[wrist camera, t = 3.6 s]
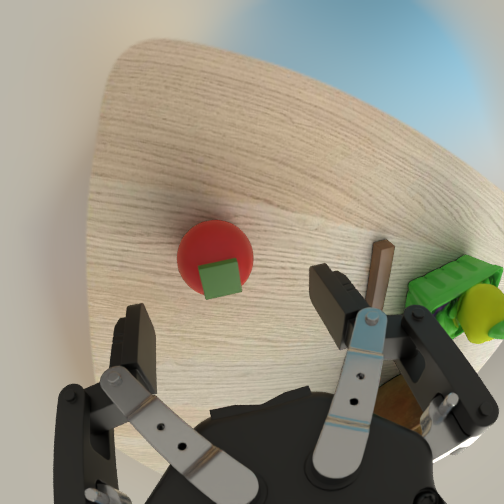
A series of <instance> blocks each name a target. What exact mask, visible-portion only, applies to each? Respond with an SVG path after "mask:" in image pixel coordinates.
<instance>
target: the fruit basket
mask: <svg viewBox="0 0 504 504" xmlns="http://www.w3.org/2000/svg"><path fill="white" fill-rule="evenodd" d="M502 273H503V267H501V266H498V265H492V264H489V263H487V262H484V261H482V260H479V259H476V258H474V257H471V256H469V255H464V256H462V257H460V258H458V259H457V260H456V261H452V262H450V263H448V264H446V265H444V266H443V267H441V268H440V269H436V270H434V271H432V272H429V273H427V274H426V275H425V276H424V277H419V278H417V279H415V280H413V281H410V282H409V284H408V288H409V291H408V293H407V298H406V304H405V308H406V307H408V306H410V305H421V306H424V307H426V308H427V309H428V310H429V311H430V312H431V313H432V315H433V316H434V317H435V318H436V320H437V321H438V322H439V323H440V325H441V326H442V327H443V328H444V330H445V331H446V332H447V334H448V335H449V336H450V338H451V339H454V338H455V337H457V336H458V335H460V334H461V333H463V332H465V334H466V336H467V338H468V340H469V341H470V342H471V343H475V344H481V343H484V342H486V341H490V340H492V339H504V294H503V293H502V291H501V290H500V289H498V285H499V282H500V279H501V276H502Z"/></svg>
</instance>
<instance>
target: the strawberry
mask: <svg viewBox="0 0 504 504" xmlns="http://www.w3.org/2000/svg"><path fill="white" fill-rule="evenodd" d="M177 264H178V269H179V272H180V274H181V276H182V278H183V280H184V281H185V282H186V284H187V285H188V286H189V287H190V288H192V289H193V290H195V291H196V292H198V293H200V294H203V295H205V299H206V300H208V299H212V298H217V297H221V296H226V295H230V294H235V293H239V292H242V287H241V286H242V285H243V284H244V283H245V282H246V280H247V279H248V277H249V275H250V273H251V270H252V267H253V250H252V247H251V244H250V241H249V240H248V238H247V236H246V235H245V234H244V233H243V232H242V231H241V230H240V229H239V228H238V227H236V226H235V225H233V224H231V223H229V222H226V221H222V220H209V221H205V222H202V223H199V224H197V225H195V226H194V227H192V228H191V229H190V230H189V231H188V232H187V233H186V234H185V236H184V237H183V238H182V240H181V242H180V245H179V248H178V252H177Z"/></svg>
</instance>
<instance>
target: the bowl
mask: <svg viewBox="0 0 504 504" xmlns="http://www.w3.org/2000/svg"><path fill="white" fill-rule="evenodd" d="M373 413H374V414H377V415H379V416H381V417H383V418H385V419H388V420H390V421H392V422H394V423H397V424H399V425H401V426H404V427H406V428H408V429H411V430H413V431H415V432H417V433H419V434H420V435H422V429H421V426H420V418H421V415H422V414H423V411H422V409H421V407H420V405H419V404H418V402H417V400H416V398H415V396H414V395H413V393H412V391H411V389H410V388H409V386H408V384H407V382H406V381H405V379H404V377H403V376H402V374H401V375H399V376H397V377H395V378H393V379H392V380H390V381H389V382H387V383H386V384H384V385H383V386H381V387H380V388H379V389H378V392H377V397H376V402H375V406H374V411H373Z"/></svg>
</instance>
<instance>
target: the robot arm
mask: <svg viewBox="0 0 504 504" xmlns="http://www.w3.org/2000/svg"><path fill="white" fill-rule="evenodd" d="M309 295H310V299H311V302H312V304H313V305H314V307H315V309H316V311H317V312H318V314H319V316H320V317H321V319H322V321H323V322H324V324H325V326H326V328H327V329H328V331H329V333H330V334H331V336H332V338H333V340H334V341H335V343H336V345H337V346H338V348H339V350H343V349H346V348H348V350H347V353H346V357H345V360H344V364H343V367H342V371H341V374H340V378H339V381H338V384H337V387H336V391H335V394H331V393H326V392H311V391H310V388H309V386H305V387H302V388H298V389H295V390H291V391H288V392H285V393H283V394H281V395H279V396H277V397H275V398H273V399H271V400H269V401H268V402H266V403H264V404H261V405H232V406H228V407H223V408H218V409H213V410H210V415H211V417H210V418H207V419H206V420H204V421H202V422H201V423H199V424H198V425H197V426H196V427H195V428H194V429H193V428H192V427H191V426H189V425H188V424H187V423H186V422H185V421H183V420H182V419H181V418H180V417H179V416H178V415H177V414H175V413H174V412H173V411H172V410H171V409H170V408H169V407H168V406H167V405H165V404H164V403H163V402H162V401H161V400H160V399H159V398H158V397H157V396H155V395H152V394H157V381H156V335H155V330H154V327H153V324H152V322H151V320H150V318H149V315H148V313H147V311H146V308H145V306H144V304H143V303H140V304H135V305H130V306H127V311H126V317H124V318H120V319H119V320H118V322H117V324H116V325H115V328H114V334H113V336H114V337H113V341H112V342H113V344H112V349H111V357H110V365H109V369H107V370H106V371H105V372H104V373H103V374H102V376H101V379H100V382H99V383H97V384H95V385H92V386H90V387H88V388H85V389H83V388H82V386H80V385H78V384H70V385H67V386H66V387H65V388H63V390H62V391H61V392H60V394H59V397H58V405H57V414H56V425H55V439H54V464H53V466H54V467H53V483H54V484H53V487H54V504H132V502H131V500H130V498H129V497H128V496H127V495H126V494H124V493H122V492H120V491H119V488H118V479H117V469H116V458H115V443H114V428H115V427H117V426H120V425H122V424H124V423H127V422H130V423H131V424H132V425H133V426H134V427H135V429H136V430H137V431H138V432H139V433H140V434H141V435H142V436H143V437H144V438H145V439H146V440H147V441H148V442H149V443H150V444H151V446H152V447H153V448H154V449H155V450H156V451H157V452H158V453H159V454H160V455H161V456H163V457H164V458H165V459H166V460H167V461H168V462H169V463H170V465H169V467H168V468H167V470H166V471H165V473H164V475H163V476H162V478H161V479H160V481H159V483H158V484H157V485H156V487H155V489H154V490H153V492H152V493H151V495H150V496H149V498H148V499H147V501H146V502H145V504H447V503H446V502H445V501H444V500H443V499H442V498H441V497H440V495H439V494H438V492H437V490H436V488H435V485H434V480H433V463H434V462H436V461H438V460H439V459H441V458H443V457H445V456H446V455H448V454H451V455H456V454H459V453H461V452H462V451H463V450H465V449H466V448H467V447H468V446H469V445H470V444H472V443H473V442H474V441H475V440H476V439H477V438H478V437H480V436H481V435H482V434H483V433H484V432H485V431H486V430H487V429H488V428H489V427H490V426H491V425H492V424H493V423H494V422H495V421H496V420H497V417H498V414H499V409H498V405H497V403H496V401H495V400H494V398H493V397H492V395H491V394H490V392H489V391H488V389H487V388H486V386H485V385H484V384H483V382H482V380H481V379H480V377H479V376H478V374H477V373H476V372H475V370H474V369H473V367H472V366H471V365H470V363H469V362H468V360H467V359H466V358H465V356H464V355H463V353H462V352H461V351H460V349H459V348H458V347H457V345H456V344H455V343H454V341H453V340H452V339H451V338H450V336H449V335H448V334H447V332H446V331H445V330H444V328H443V327H442V326H441V325H440V323H439V322H438V321H437V320H436V318H435V317H434V316H433V315H432V313H431V312H430V311H429V310H428V309H427V308H426V307H424V306H421V305H410V306H408V307H406V308H405V310H404V313H403V314H400V315H386V314H385V313H384V312H383V311H382V310H380V309H377V308H373V307H370V306H369V304H368V303H367V302H366V300H365V299H364V298H363V297H362V295H361V294H360V293H359V292H358V290H357V289H355V286H354V285H353V284H351V281H350V280H349V279H348V278H347V277H346V275H344V274H342V273H341V272H339V271H333V272H332V271H331V269H330V268H329V267H328V265H327V264H326V263H323V264H318V265H314V266H311V267H310V269H309ZM384 360H394V362H395V364H396V365H397V367H398V369H399V370H400V372H401V374H402V376H403V377H404V379H405V381H406V382H407V384H408V386H409V388H410V389H411V391H412V393H413V395H414V396H415V398H416V400H417V402H418V404H419V405H420V407H421V409H422V411H423V414H422V415H421V418H420V426H421V429H422V435H420V434H419V433H417V432H415V431H413V430H411V429H408V428H406V427H404V426H401V425H399V424H397V423H394V422H392V421H390V420H388V419H385V418H383V417H381V416H379V415H377V414H374V413H373V411H374V406H375V402H376V397H377V392H378V387H379V382H380V376H381V371H382V365H383V361H384Z"/></svg>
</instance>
